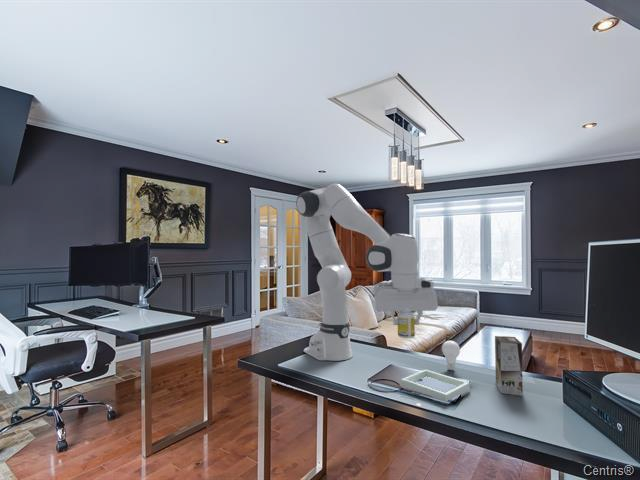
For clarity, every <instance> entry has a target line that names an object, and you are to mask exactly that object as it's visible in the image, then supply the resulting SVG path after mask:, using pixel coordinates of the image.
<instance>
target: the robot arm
mask: <svg viewBox="0 0 640 480" xmlns="http://www.w3.org/2000/svg"><path fill="white" fill-rule="evenodd" d="M295 204H296V209H297V211H298V213H299V214H300V215H301V216H302V217H305V225H306V226H305V227H306V231H307V235H308V239H309V241H310V245H311V248H312V252H313V255H314V256H315V258H316V259H317V260H318V263H319V264H320V266H321V269H320V270H319V271H318V273H317V275H316V282H317V285H318V286H319V294H320V298H321V304H322V309H321V310H322V322H319V323H318V326H320V327H319V330H318V331H317V332H316V333H315V334H313V335H312V336H311V337H310V339H309V345H308V346H307V347H305V348H304V349H303V352H304V353H306V354H308V355H309V356H311V357H312V358H314V359H316V360H318V361H330V362H331V361H333V362H334V361H335V362H337V361H344V360H345V361H346V360H349V359H351V358H352V357H353V349H352V347H351V338H350V333H349V332H350V322H349V303H348V299H347V294H346V293H347V291H346V287H347V286H348V285H349V284H350V282H351V279H352V271H351V270H350V267H349V266H348V263H347V261H346V259H345V257H344V255H343V253H342V251H341V248H340V246H339V244H338V241H337V238H336V235H335V232H334V229H333V226H332V224H331V221H330V218H331V217H332V218H333V219H334V221H335V222H336V223H337V224H338V225H339V226H340V227H342V228H343V229H346V230H351V231H354V232H357V233H360V234H362V235H365V236H366V237H367V238H368V239H370V240H371V242H373V243H374V244H373V245H372V246H370V247H369V248H368V249H367V251H366V254H365V260H366V264H367V266H368V268H369V269H370V270H372V271H374V272H378V273H379V272H380V273H381V272H390V273H391V274H390V277H391V282H378V283H376V284H375V285H374V287H373V295H374V296H375V297H374V309H375V310H376V311H377V312H389V316H391V319H392V325H394V326H398V318H396V317H395V316H394V315H396V312H400V311H404V309H405V308H409V309H410V311H411V312H416V314H417V316H416V317H414V326H415V325H416V326H417V325H420V320H421V318H422V316H423V312H431V311H432V312H433V311H434V312H435V311H437V309H438V307H439V305H438V296H437V292H436V290H435V289H434V287H435V283H434V282H433V281H432V280H428V279H425V278H423V277H420V275H419V269H418V263H419V249H418V248H419V247H418V242H417V238H416V237H415V236H414V235H411V234H408V233H399V232H398V233H397V232H396V233H393V234H392V235H390V233H389V232H387V231H386V229H384V227H382V226H381V225H380V223H378V222H377V221H376V219H374V218H373V216H371V215H370V214H369V213H368V212H367V211H366V210H365V209H364V208H363V207H362V205H361V204H360V203H359V202H358V201H357V200H356V198H355V197H354V196H353V195H352V194H351V193H350V192H349V191H348V190H347V189H346V188H345V187H344V186H342V185H341V184H339V183H331V184H329V185H327V186H326V187H319V188H317V189H313V190H306V191H303V192H301V193H299V194H298V196H297V198H296V203H295Z"/></svg>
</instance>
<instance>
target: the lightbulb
mask: <svg viewBox="0 0 640 480" xmlns="http://www.w3.org/2000/svg"><path fill="white" fill-rule="evenodd" d="M441 351H442V354H443V355H444V357H445V360H446V363H447V365H446V366H447V370H449V371H452V372H453V371H454V370H456V365H455V364H456V361H457V358H458V356H459V355H460V353H461V349H460V346H459V344H458V342H456V341H454V340H446V341H444V342H443V343H442V345H441Z"/></svg>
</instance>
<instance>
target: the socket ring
mask: <svg viewBox="0 0 640 480" xmlns="http://www.w3.org/2000/svg"><path fill="white" fill-rule="evenodd" d="M367 385H368V386H369V388H370V389H372V390H373V391H376V392H382V393H394V392H396V391H394V389H380V388H377V387H374V386H373V385H372V384H371V385H370V384H369V382H368V384H367Z"/></svg>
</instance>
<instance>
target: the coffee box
mask: <svg viewBox="0 0 640 480" xmlns="http://www.w3.org/2000/svg"><path fill="white" fill-rule="evenodd" d="M494 353H495V354H494V357H495V358H494V359H495V360H494V361H495V362H494V363H495V385H496V386H497V388H498V390H499V391H500V394H505V395H513V396H523V393H524V391H523V390H524V389H523V387H524V386H523V343H522V342H521V341H520V340H519V339H517V337H515V336H505V335H504V336H502V335H501V336H499V335H495V336H494Z"/></svg>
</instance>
